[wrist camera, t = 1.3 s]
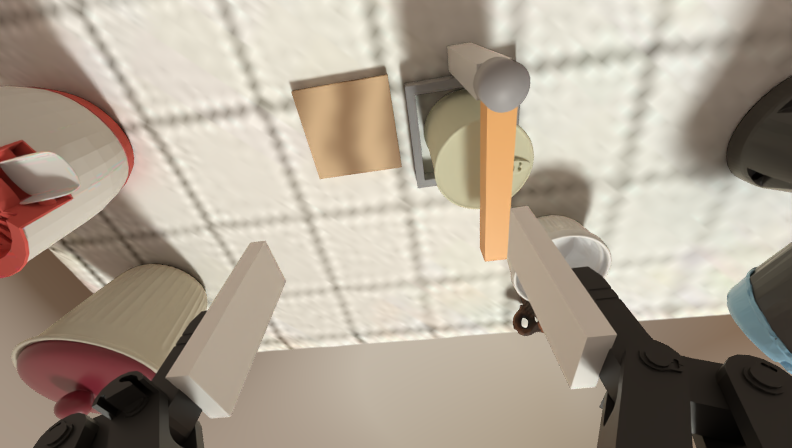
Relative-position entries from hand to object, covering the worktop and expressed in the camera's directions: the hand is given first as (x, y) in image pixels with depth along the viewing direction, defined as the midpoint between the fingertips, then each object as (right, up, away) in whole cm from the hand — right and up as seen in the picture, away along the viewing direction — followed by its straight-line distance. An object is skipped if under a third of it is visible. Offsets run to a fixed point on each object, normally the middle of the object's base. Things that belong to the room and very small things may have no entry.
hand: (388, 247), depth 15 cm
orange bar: (+8, +6, +10) cm, 14 cm away
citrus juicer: (-38, +12, +24) cm, 46 cm away
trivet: (-5, +13, +23) cm, 27 cm away
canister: (-39, -10, +39) cm, 56 cm away
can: (+8, +13, +23) cm, 28 cm away
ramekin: (+23, -2, +33) cm, 41 cm away
